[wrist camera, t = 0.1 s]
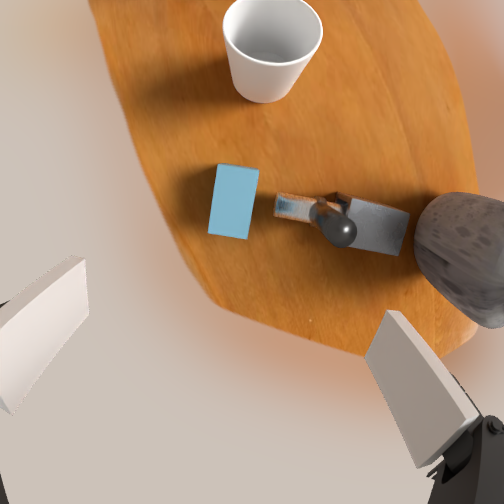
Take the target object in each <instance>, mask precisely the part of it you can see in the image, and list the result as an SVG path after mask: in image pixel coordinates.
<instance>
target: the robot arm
mask: <svg viewBox="0 0 504 504" xmlns="http://www.w3.org/2000/svg"><path fill="white" fill-rule="evenodd" d="M88 315H89V304H88V295H87V283H86V265H85V258H80V257H76V256H70V257H68V258H67V259H65V260H64V261H62V262H61V263H60V264H58V265H57V266H55V267H54V268H52V269H51V270H50V271H48V272H47V273H45V274H44V275H43V276H41V277H40V278H39V279H37V280H36V281H35V282H33V283H32V284H30V285H29V286H28V287H26V288H25V289H24V290H23V291H21V292H20V293H19V294H17V295H16V296H15V297H14V298H12V299H11V300H10V301H7V302H5V303H3V304H0V408H2V409H3V410H5V411H6V412H8V413H9V414H11V415H13V414H14V412H15V411H16V409H17V408H18V406H19V405H20V403H21V402H22V400H23V399H24V398H25V396H26V395H27V393H28V392H29V390H30V389H31V387H32V386H33V385H34V383H35V382H36V381H37V379H38V378H39V376H40V375H41V374H42V372H43V371H44V370H45V368H46V367H47V365H48V364H49V363H50V362H51V360H52V359H53V358H54V357H55V355H56V354H57V353H58V351H59V350H60V349H61V348H62V346H63V345H64V344H65V343H66V341H67V340H68V339H69V338H70V336H71V335H72V334H73V333H74V331H75V330H76V329H77V328H78V327H79V326H80V324H81V323H82V322H83V321H84V319H85V318H86V317H87V316H88ZM364 358H365V360H366V362H367V364H368V366H369V368H370V370H371V372H372V374H373V376H374V378H375V380H376V381H377V384H378V386H379V388H380V390H381V391H382V394H383V396H384V398H385V400H386V402H387V404H388V406H389V408H390V410H391V413H392V415H393V417H394V419H395V421H396V423H397V425H398V427H399V429H400V432H401V434H402V436H403V438H404V441H405V443H406V445H407V447H408V450H409V452H410V454H411V456H412V459H413V461H414V463H415V466H416V468H417V469H418V468H421V467H424V466H427V465H430V464H432V463H433V462H434V461H435V460H437V459H438V458H439V457H440V456H441V455H443V457H444V460H443V461H442V462H441V463H439V464H438V465H437V466H436V467H435V468H434V469H432V470H431V471H430V472H429V473H428V475H427V477H430V476H431V475H432V474H433V473H435V472H436V471H437V474H436V475H434V476H433V477H432V479H434V480H435V482H434V485H433V489H432V492H431V495H430V498H429V501H428V504H504V425H503V423H502V422H501V421H500V420H499V419H498V418H496V417H495V416H491V415H488V416H486V417H485V418H484V417H483V416H482V415H481V413H480V411H479V410H478V409H477V407H476V406H475V404H474V403H473V401H472V400H471V399H470V397H469V396H468V394H467V393H465V390H464V389H463V387H462V386H460V384H459V382H458V381H457V379H456V378H455V377H454V376H453V375H452V374H451V373H450V372H449V371H448V370H447V369H446V367H445V366H444V365H443V363H442V362H441V361H440V360H439V358H438V357H437V356H436V354H435V353H434V352H433V351H432V349H431V348H430V347H429V346H428V344H427V343H426V342H425V341H424V339H423V338H422V337H421V336H420V335H419V333H418V332H417V331H416V330H415V329H414V327H413V326H412V325H411V324H410V323H409V322H408V320H407V319H406V318H405V317H404V316H403V314H402V313H401V312H400V311H394V310H386V313H385V315H384V317H383V319H382V322H381V324H380V326H379V328H378V331H377V333H376V335H375V337H374V339H373V341H372V343H371V345H370V347H369V349H368V351H367V353H366V355H365V357H364ZM0 504H9V502H8V499H7V496H6V493H5V489H4V486H3V482H2V478H1V474H0Z"/></svg>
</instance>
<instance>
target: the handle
mask: <svg viewBox="0 0 504 504" xmlns="http://www.w3.org/2000/svg"><path fill="white" fill-rule="evenodd" d="M347 208H348V206H345V205H341V204H336V203H332V202H327V200H326V198H323V197H319V196H314V198H309V197H304V196H299V195H294V194H289V193H284V192H277V195H276V198H275V203H274V210H273V216H274V217H280V218H286V219H291V220H297V221H302V222H307V223H309V226H312V227H317V229H318V230H319V231H320V232H321V233H322V234H323V235H324V236H325V237H326V238H327V239H328V240H329V241H330V242H331V243H332V244H333V245H334V246H336V247H338V248H345V247H347V246H349V245H351V244H352V243H353V242H354V240H355V239H356V236H357V227H356V224H355V223H354V222H353V221H352V220H351V219H350V218H348V217H346V212H347Z"/></svg>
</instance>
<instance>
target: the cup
mask: <svg viewBox="0 0 504 504" xmlns="http://www.w3.org/2000/svg"><path fill="white" fill-rule="evenodd" d="M223 34H224V39H225V45H226V50H227V55H228V60H229V65H230V70H231V75H232V80H233V84H234V86H235V88H236V90H237V91H238V92H239V93H240V94H241V95H242V96H243V97H244V98H246V99H248V100H250V101H253V102H257V103H271V102H274V101H277V100H279V99H281V98H282V97H284V96H285V95H286V94H287V93H288V92H289V90H290V89H291V87H292V86H293V84H294V83H295V81H296V80H297V78H298V77H299V75H300V74H301V72H302V71H303V69H304V68H305V66H306V65H307V63H308V62H309V60H310V59H311V57H312V56H313V54H314V53H315V51H316V50H317V48H318V47H319V45H320V42H321V39H322V34H323V30H322V24H321V21H320V19H319V17H318V15H317V13H316V12H315V11H314V10H313V8H312V7H311V6H309V5H308V4H307V3H306V2H304V1H303V0H237V1H236V2H234V3H233V4H232V5H231V6H230V7H229V9H228V10H227V12H226V14H225V16H224V20H223Z"/></svg>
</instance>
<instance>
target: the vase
mask: <svg viewBox="0 0 504 504" xmlns="http://www.w3.org/2000/svg"><path fill="white" fill-rule="evenodd" d="M414 254H415V258H416V262H417V264H418V266H419V268H420V270H421V272H422V273H423V275H424V276H425V277H426V279H427V280H428V281H429V282H430V283H431V284H432V285H433V286H434V287H435V288H436V289H437V290H438V291H439V292H440V293H441V294H442V295H443V296H444V297H445V298H446V299H447V300H448V301H449V302H450V303H452V304H453V305H454V306H455V307H456V308H458V309H459V310H460V311H461V312H462V313H464V314H465V315H466V316H467V317H469V318H470V319H471V320H473V321H474V322H476V323H477V324H479V325H481V326H483V327H486V328H491V329H494V328H501V327H503V326H504V202H501V201H499V200H495V199H492V198H488V197H485V196H481V195H476V194H471V193H463V192H450V193H446V194H443V195H440V196H438V197H437V198H435V199H434V200H433V201H431V202H430V203H429V204H428V205H427V207H426V208H425V209H424V211H423V212H422V214H421V216H420V218H419V220H418V223H417V225H416V229H415V234H414Z"/></svg>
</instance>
